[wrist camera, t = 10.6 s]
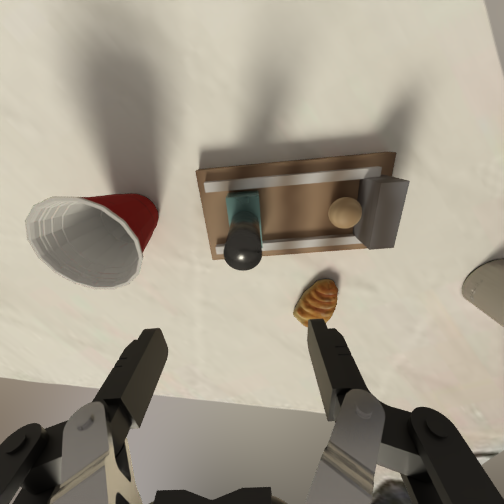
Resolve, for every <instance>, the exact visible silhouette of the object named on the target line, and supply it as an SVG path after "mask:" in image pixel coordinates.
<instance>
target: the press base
mask: <svg viewBox="0 0 504 504" xmlns="http://www.w3.org/2000/svg"><path fill="white" fill-rule="evenodd" d="M395 157H396V153H395V152H381V153H370V154H359V155H348V156H337V157H326V158H316V159H305V160H294V161H283V162H272V163H261V164H250V165H239V166H229V167H218V168H207V169H198V170H196V176H197V182H198V187H199V192H200V197H201V202H202V207H203V213H204V218H205V223H206V228H207V233H208V238H209V244H210V249H211V254H212V259H213V260H219V259H224V254H223V252H224V247H225V243H226V239H227V235H228V231H229V220H228V213H227V206H226V196H227V194H228V193H232V192H243V191H255V190H258V192H259V203H260V217H261V232H262V246H263V248H262V256H272V255H285V254H298V253H311V252H324V251H338V250H351V249H364V248H368V249H369V250H370V249H383V248H394V244H395V240H396V236H397V232H398V227H399V223H400V219H401V215H402V211H403V207H404V202H405V198H406V194H407V190H408V186H409V182H410V181H407V180H403V179H399V178H395V177H392V172H393V167H394V162H395ZM342 197H350V198H353V199H355V200H357V201H358V202H359V203H360V205H361V207H362V216H361V219H360V220H359V222H358V223H357V224H356V225H354V226H352V227H350V228H344V229H343V228H338V227H336V226H334V225H333V224H332V223H331V221H330V219H329V215H328V212H329V208H330V206H331V205H332V203H333V202H334V201H336V200H337V199H339V198H342Z"/></svg>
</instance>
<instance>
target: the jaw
mask: <svg viewBox="0 0 504 504" xmlns="http://www.w3.org/2000/svg"><path fill="white" fill-rule="evenodd" d="M226 206H227V213H228V220H229V231H228V235H227V239H226V243H225V247H224V252H223V254H224V259H225V261H226V262H227V264H228V265H229V266H231V267H232V268H234V269H237V270H249V269H252V268H254V267H255V266H257V265H258V264H259V262H260V260H261V258H262V248H263V246H262V232H261V217H260V203H259V192H258V190H255V191H243V192H232V193H228V194H227V196H226Z"/></svg>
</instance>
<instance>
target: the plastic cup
mask: <svg viewBox="0 0 504 504" xmlns="http://www.w3.org/2000/svg"><path fill="white" fill-rule="evenodd" d="M157 222H158V211H157V209H156V207H155V205H154V204H153V203H152V202H151V201H150V200H149V199H148V198H147V197H144V196H142V195H139V194H113V195H104V196H96V197H50V198H48V199H46V200H44V201H42V202H40V203H37V204H35V205H33V207H32V209H31V211H30V213H29V215H28V216H27V218H26V220H25V223H26V232H27V239H28V241H29V243H30V245H31V246H32V248H33V250H34V251H35V253H36V255H37V256H38V258H39V259H41V260H42V261H43V262H44V263H45V264H46V265H47V266H48V267H49V268H50V269H51V270H53V271H54V272H55V273H57V274H58V275H60V276H62V277H64V278H66V279H67V280H69V281H71V282H73V283H75V284H79V285H82V286H86V287H89V288H93V289H116V288H119V287H122V286H125V285H128V284H130V283H131V282H132V281H133V280H134V279H135V278H136V277H137V276H138V275H139V274H140V269H141V265H142V260H143V251H144V249H145V247H146V246H147V244H148V242H149V240H150V238H151V236H152V234H153V231H154V229H155V228H156V226H157Z"/></svg>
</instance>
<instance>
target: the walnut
mask: <svg viewBox="0 0 504 504" xmlns="http://www.w3.org/2000/svg"><path fill="white" fill-rule="evenodd" d="M328 215H329V219H330V221H331V223H332V224H333V225H334V226H336V227H338V228H343V229H344V228H350V227H352V226H354V225H356V224H357V223H358V222H359V220H360V219H361V216H362V207H361V205H360V203H359V202H358V201H357V200H355V199H353V198H350V197H342V198H339V199H337V200H336V201H334V202H333V203H332V205H331V206H330V208H329V212H328Z"/></svg>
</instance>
